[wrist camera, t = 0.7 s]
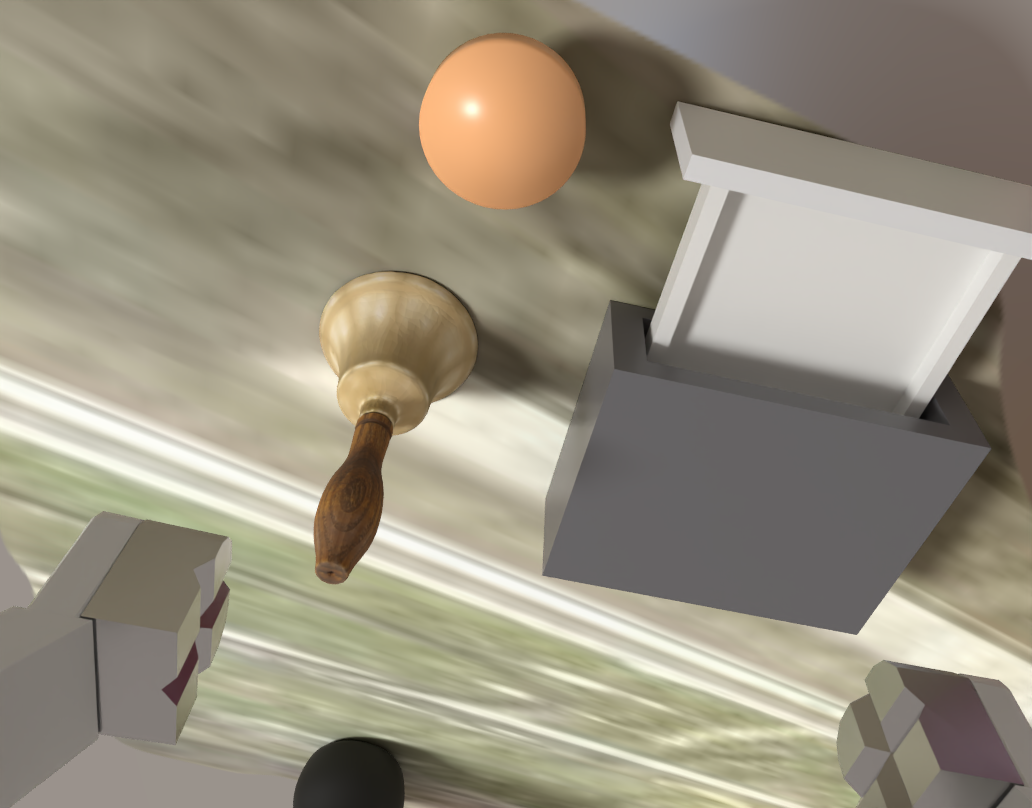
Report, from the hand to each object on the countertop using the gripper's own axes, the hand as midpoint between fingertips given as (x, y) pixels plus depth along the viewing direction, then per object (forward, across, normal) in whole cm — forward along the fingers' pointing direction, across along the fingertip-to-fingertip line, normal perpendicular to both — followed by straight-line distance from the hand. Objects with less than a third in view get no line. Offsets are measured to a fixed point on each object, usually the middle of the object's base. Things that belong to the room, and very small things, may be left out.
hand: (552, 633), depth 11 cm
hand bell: (+33, +5, +14) cm, 36 cm away
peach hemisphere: (+28, +2, +1) cm, 28 cm away
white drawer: (+31, -14, +6) cm, 35 cm away
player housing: (+33, -14, +16) cm, 39 cm away
